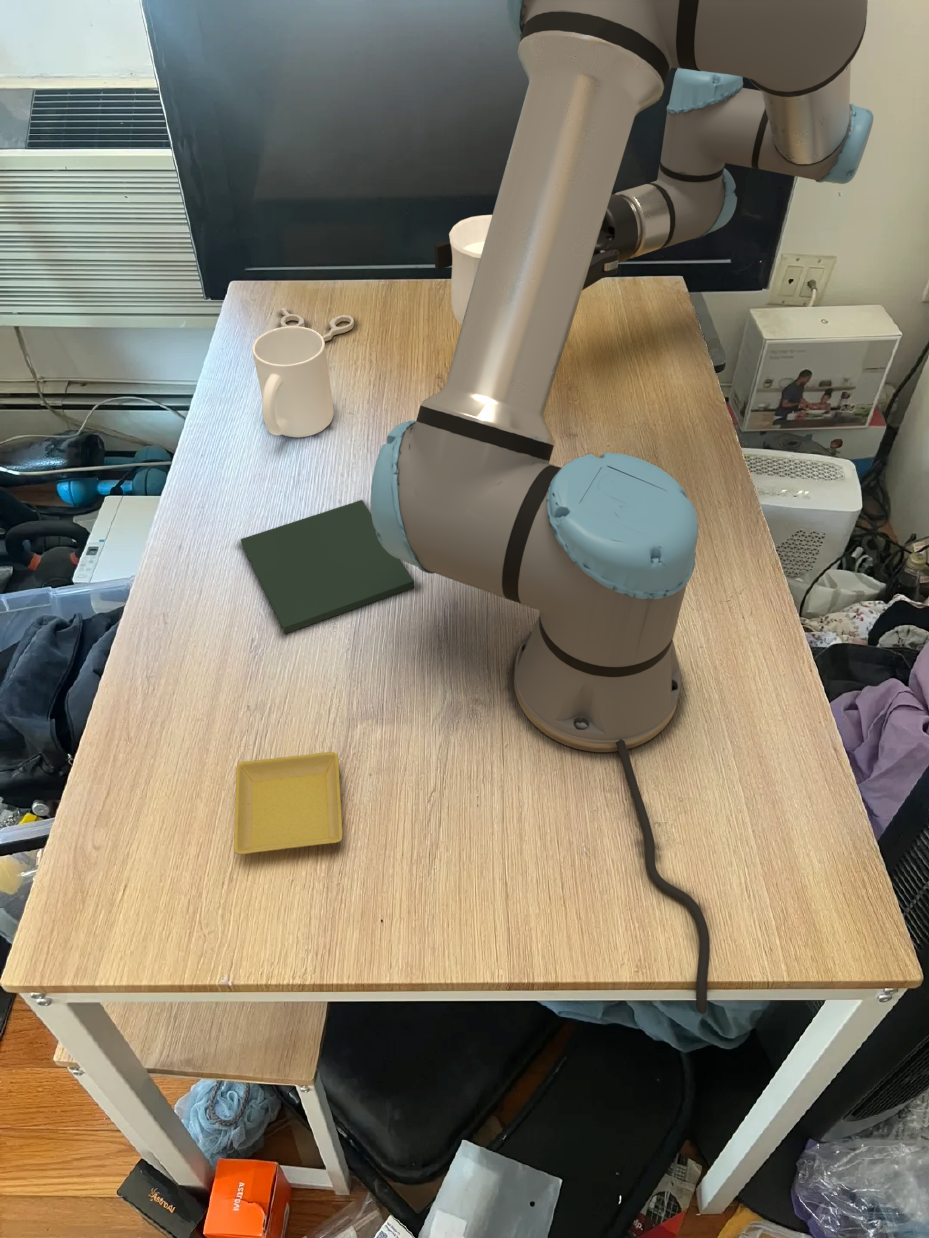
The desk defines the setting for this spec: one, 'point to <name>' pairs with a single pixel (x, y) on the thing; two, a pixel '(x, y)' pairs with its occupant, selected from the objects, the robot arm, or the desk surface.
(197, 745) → the desk surface
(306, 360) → the mug
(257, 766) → the saucer
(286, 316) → the scissors
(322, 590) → the cup mat
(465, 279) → the cup
